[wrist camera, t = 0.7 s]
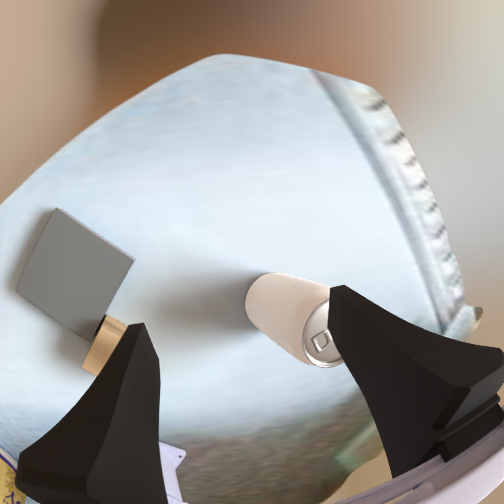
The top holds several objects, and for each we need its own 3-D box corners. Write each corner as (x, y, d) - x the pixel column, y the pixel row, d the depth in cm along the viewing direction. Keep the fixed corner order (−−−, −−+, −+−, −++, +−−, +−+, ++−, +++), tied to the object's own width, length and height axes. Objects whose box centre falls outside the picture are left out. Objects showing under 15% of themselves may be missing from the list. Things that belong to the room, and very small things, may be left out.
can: (307, 309, 34) (377, 339, 23) (260, 341, 33) (316, 388, 21) (284, 260, 33) (353, 273, 22) (232, 291, 31) (282, 323, 20)
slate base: (93, 335, 27) (90, 342, 25) (22, 287, 24) (15, 290, 22) (135, 258, 28) (134, 260, 26) (61, 209, 25) (56, 207, 23)
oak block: (126, 370, 28) (125, 391, 24) (89, 349, 27) (81, 367, 22) (146, 336, 29) (146, 352, 24) (107, 314, 27) (101, 327, 23)
